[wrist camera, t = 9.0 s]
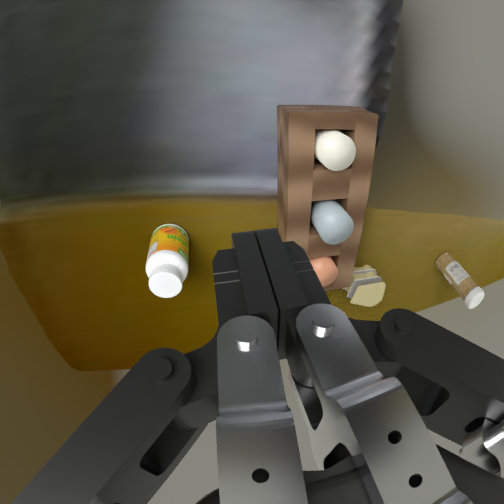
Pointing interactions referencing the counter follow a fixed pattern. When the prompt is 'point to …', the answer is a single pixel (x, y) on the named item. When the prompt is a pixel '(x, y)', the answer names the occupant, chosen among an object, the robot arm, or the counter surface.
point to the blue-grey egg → (331, 221)
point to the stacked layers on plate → (365, 287)
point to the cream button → (334, 149)
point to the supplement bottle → (167, 260)
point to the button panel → (323, 179)
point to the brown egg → (325, 269)
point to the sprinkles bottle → (460, 280)
